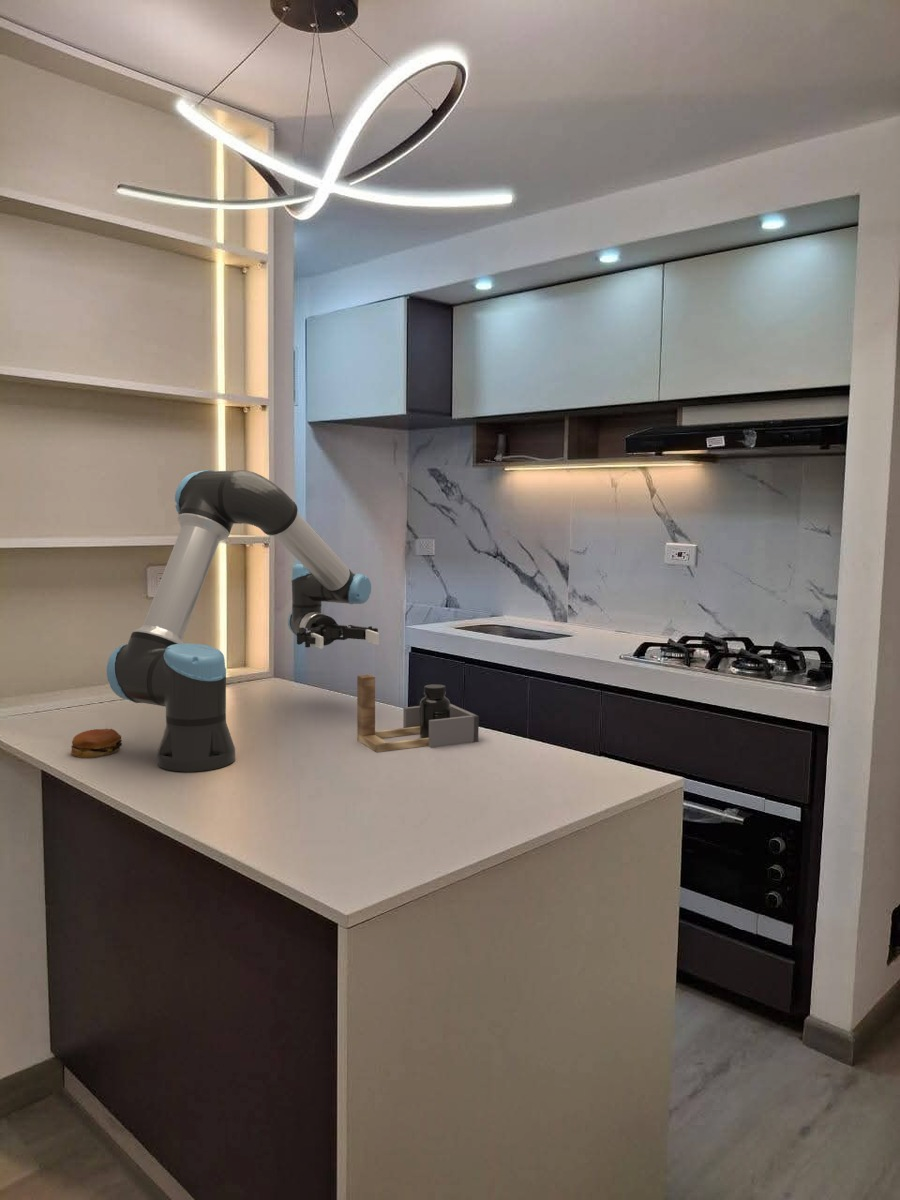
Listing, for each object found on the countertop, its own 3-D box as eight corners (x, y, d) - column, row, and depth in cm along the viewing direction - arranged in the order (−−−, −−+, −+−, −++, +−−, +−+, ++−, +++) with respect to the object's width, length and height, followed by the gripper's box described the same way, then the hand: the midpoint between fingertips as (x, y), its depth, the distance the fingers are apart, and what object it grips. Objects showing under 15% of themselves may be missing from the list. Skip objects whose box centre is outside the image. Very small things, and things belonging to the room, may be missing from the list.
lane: (448, 727, 209) (448, 702, 209) (478, 742, 197) (478, 715, 196) (403, 733, 204) (403, 707, 203) (431, 748, 191) (431, 721, 191)
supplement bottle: (451, 735, 203) (452, 683, 201) (448, 743, 196) (448, 689, 195) (421, 734, 203) (422, 682, 202) (417, 741, 197) (418, 688, 195)
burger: (64, 759, 181) (64, 736, 180) (81, 747, 190) (81, 725, 190) (114, 759, 181) (113, 737, 181) (128, 747, 191) (128, 726, 190)
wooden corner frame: (443, 729, 207) (444, 668, 205) (465, 740, 197) (466, 676, 196) (357, 739, 197) (357, 675, 195) (376, 752, 187) (376, 684, 186)
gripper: (365, 640, 228) (399, 653, 209) (270, 647, 216) (297, 661, 197) (365, 611, 227) (399, 621, 208) (270, 616, 215) (297, 627, 197)
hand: (350, 640), depth 203 cm, fingers open, 13 cm apart
